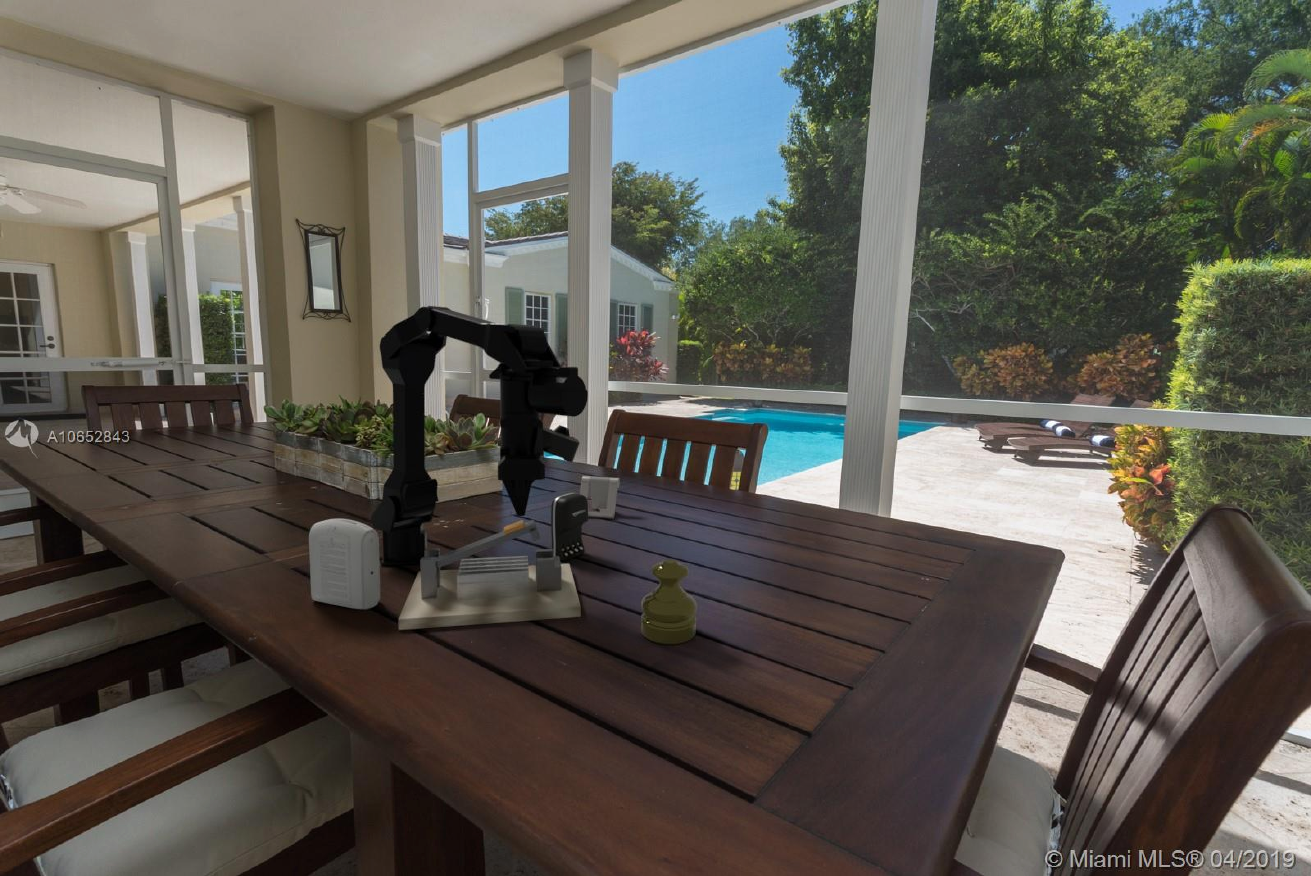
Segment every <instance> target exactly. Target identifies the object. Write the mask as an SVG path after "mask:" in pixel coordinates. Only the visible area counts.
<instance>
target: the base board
mask: <svg viewBox="0 0 1311 876" xmlns="http://www.w3.org/2000/svg"><path fill="white" fill-rule="evenodd" d="M528 567H529V596H522V597H507V598H491V599H476V600H460V601H457V575H458V571H459V568H458V569H445V570H444V569H443V570H441V569H440V587H437V598H432V599H421V570H420V571H418V572H417V574H416V578H415V579H414V582H413V583H412V586H411V589H410V591H409V593H408V596H407V598H406V600H405V603H404V605H403V607H402V610H401V611H400V615H399V617H398V631H403V630H416V629H417V630H418V629H419V630H420V629H430V628H431V629H432V628H443V627H445V628H446V627H447V628H448V627H455V626H456V627H458V626H470V625H471V626H474V625H485V624H495V623H496V624H497V623H499V624H500V623H512V622H513V623H515V622H525V621H539V620H553V619H554V620H555V619H567V618H581V617H582V616H581V613H582V611H581V609H582V608H581V607H582V606H581V603H580V599H579V595H578V592H577V588H576V584H575V580H574V577H573V573H572V569H571V565H570V563H561V590H558V591H543V592H537V582H536V564H535V565H533V564H532V565H528Z"/></svg>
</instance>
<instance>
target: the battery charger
mask: <svg viewBox="0 0 1311 876" xmlns="http://www.w3.org/2000/svg"><path fill="white" fill-rule="evenodd" d="M588 508H589V501H588V500H587V498H586V497H585V496H584V495H581V494H580V493H577V492H569V493H565V494H562V495H558V496H556V497H554V498H553V500H552V503H551V507H550V510H551V511H550V513H551V514H550V526H551V527H550V528H551V532H550V533H551V549H553V556H559V558H560V561H568V560H571V559H573V558H577V557H579V556H581V555H583V554H584V553H585V551H586V550H585V546H584V543H583V537H582V533H583V531H582V529H583V525H584V524H585V523H587V522H589V517H588Z"/></svg>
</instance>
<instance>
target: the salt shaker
mask: <svg viewBox="0 0 1311 876" xmlns="http://www.w3.org/2000/svg"><path fill="white" fill-rule="evenodd" d="M650 570H651V574H652V575H653V576H654V577H655V578H656V579H657V580H658V582H659V585H658V586H657V587H656V588H654V589H653V590H652V591H651V592H649V593H648V594H646V595H645V596H644V597H643V598H642V600H641V603H640V605H641V607H640V608H641V611H642V612H643V613H642V614H641V616H640V619H641V623H640V625H641V626H640V631H641V634H642V636H643V637H644V638H645V639H647V640H650V641H651V642H654V643H656V644H657V643H658V644H661V645H662V644H663V645H678V644H683V643H686V642H689V641H690V640H692V639H693V638H694V637H695V636H696V633H697V632H696V628H697V627H696V624H697V616H695V615H696V613H697V609H698V608H697V607H698V603H697V601H696V600H695V598H693V596H692V595H690V594H689V593H687V591H686V590H684V589H683V587H682V586H681V585H680V584H681V581H683V579H684V578H686V577H688V575H689V573H690V570H689V568H688V566H686V565H685V564H684V563H681V562H679V561H677V560H676V559H670V558H669V559H668V558H667V559H665V560H663V561H659V562H657V563H655V564H654V565H652V567H651V569H650Z"/></svg>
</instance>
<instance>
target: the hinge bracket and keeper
mask: <svg viewBox="0 0 1311 876" xmlns="http://www.w3.org/2000/svg"><path fill="white" fill-rule="evenodd" d="M440 555H441V553H440V547H430V548H429V547H427V549H425V557H423V558H421V560H420V563H419V564H420V571H421V599H432V598H437V587H440V570H441V567H440V568H437V569H436V557H437V556H440ZM561 564H562V563H561V560H560V558H559V556H553V549H552V548H545V549H543V548H542V549H535V565H536V582H537V592H543V591H558V590H561Z"/></svg>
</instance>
